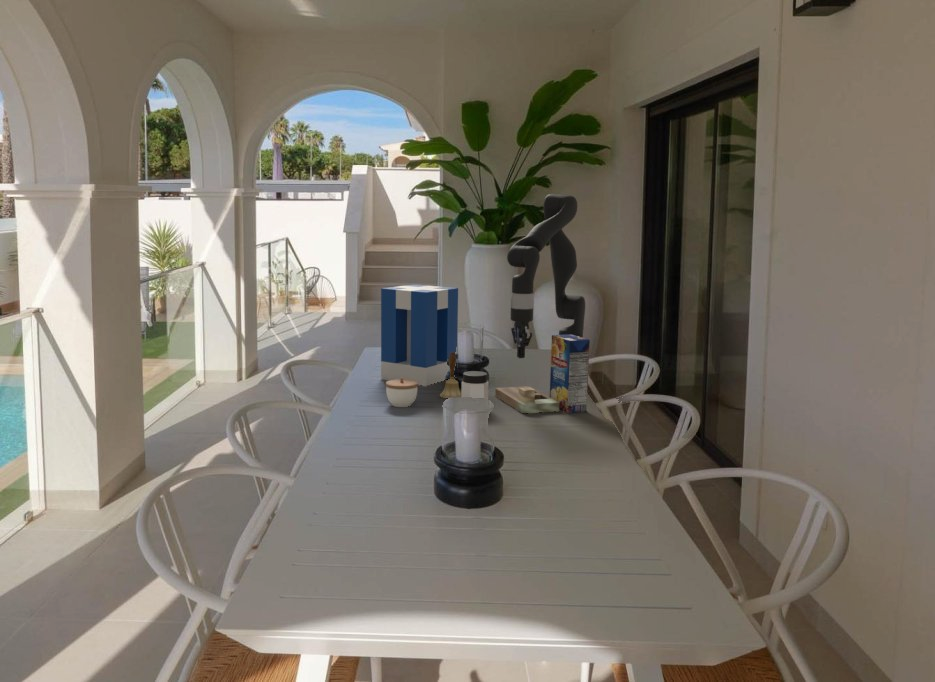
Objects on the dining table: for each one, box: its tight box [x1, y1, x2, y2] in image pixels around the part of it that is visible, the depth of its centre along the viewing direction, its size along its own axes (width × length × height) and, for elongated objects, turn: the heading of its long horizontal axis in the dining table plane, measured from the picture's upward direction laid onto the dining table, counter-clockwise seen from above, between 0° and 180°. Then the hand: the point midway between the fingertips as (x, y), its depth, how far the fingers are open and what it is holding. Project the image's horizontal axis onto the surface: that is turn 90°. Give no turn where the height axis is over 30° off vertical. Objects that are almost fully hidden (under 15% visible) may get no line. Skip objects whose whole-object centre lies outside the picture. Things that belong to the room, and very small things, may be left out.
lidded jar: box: [385, 378, 419, 408], centre depth 265 cm, size 11×11×9 cm
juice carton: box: [549, 334, 591, 414], centre depth 264 cm, size 12×8×24 cm, turn 23°
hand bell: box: [439, 352, 461, 399], centre depth 278 cm, size 8×8×16 cm
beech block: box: [519, 386, 535, 403], centre depth 262 cm, size 4×4×4 cm
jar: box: [460, 370, 489, 400], centre depth 261 cm, size 9×8×12 cm
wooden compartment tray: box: [494, 385, 560, 414], centre depth 271 cm, size 13×25×3 cm, turn 19°
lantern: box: [380, 284, 459, 387], centre depth 305 cm, size 21×21×35 cm
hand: (520, 357), depth 266 cm, fingers closed
